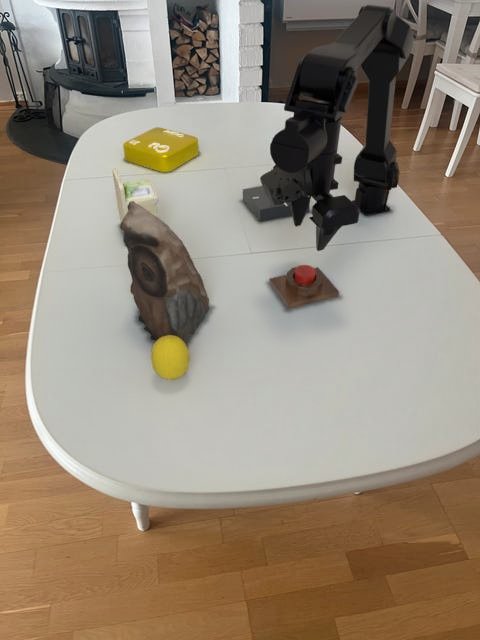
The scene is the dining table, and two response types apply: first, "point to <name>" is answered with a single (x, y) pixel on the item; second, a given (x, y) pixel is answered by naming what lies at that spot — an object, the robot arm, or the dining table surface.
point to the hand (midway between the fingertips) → (308, 237)
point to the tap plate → (265, 205)
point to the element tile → (161, 149)
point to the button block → (303, 289)
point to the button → (304, 274)
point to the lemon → (170, 357)
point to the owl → (162, 276)
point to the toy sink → (134, 195)
